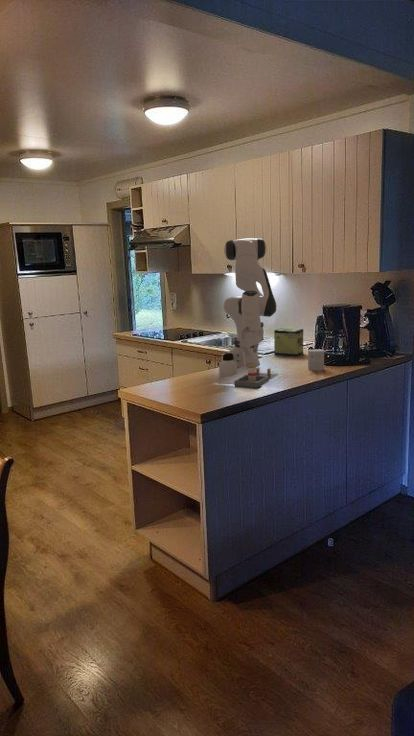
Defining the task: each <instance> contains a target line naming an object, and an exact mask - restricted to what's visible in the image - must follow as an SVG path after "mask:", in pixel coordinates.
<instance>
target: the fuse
mask: <svg viewBox="0 0 414 736" xmlns="http://www.w3.org/2000/svg"><path fill="white" fill-rule="evenodd" d="M246 367H247V375H248V382H256V368H257V366H256V364H247V366H246Z"/></svg>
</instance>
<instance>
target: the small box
mask: <svg viewBox="0 0 414 736" xmlns="http://www.w3.org/2000/svg"><path fill="white" fill-rule="evenodd" d="M307 368H308V371H325V350H324V349H320V348H318V349H317V348H316V349H308V350H307Z"/></svg>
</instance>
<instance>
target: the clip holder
mask: <svg viewBox="0 0 414 736" xmlns="http://www.w3.org/2000/svg"><path fill="white" fill-rule="evenodd" d="M271 368H272V367H271ZM271 368H269V367H268V368H267V369H266V371H267V372H266V373H265V372H261V370H260V369H261V368H260V367H256V375H257V376H269V380H272V379H274V378H275V377H277V376H279V374H278V373H271V371H272V370H271Z"/></svg>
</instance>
